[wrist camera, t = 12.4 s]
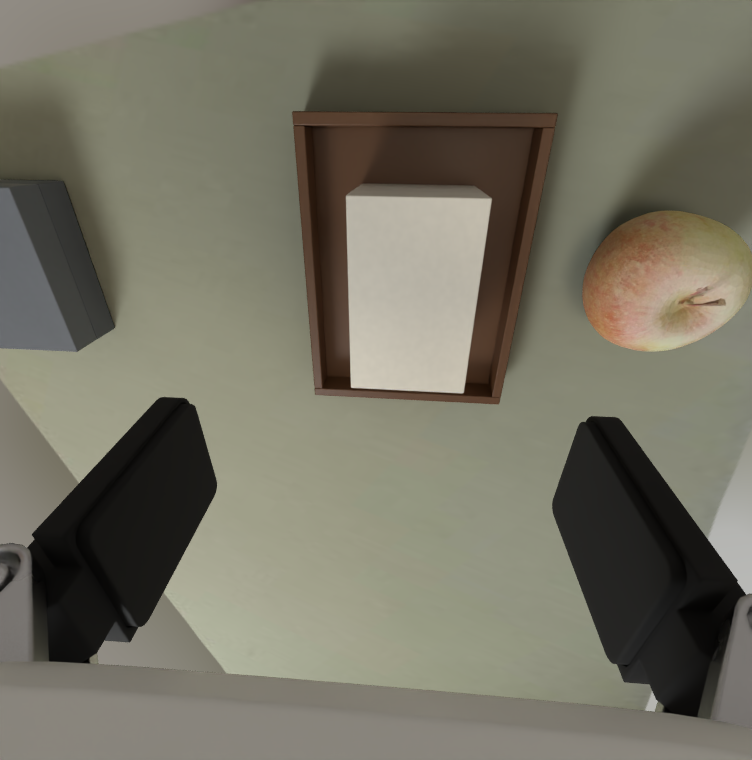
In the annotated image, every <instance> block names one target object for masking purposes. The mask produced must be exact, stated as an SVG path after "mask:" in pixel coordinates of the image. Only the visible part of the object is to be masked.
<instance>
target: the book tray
mask: <svg viewBox="0 0 752 760" xmlns="http://www.w3.org/2000/svg"><path fill="white" fill-rule="evenodd" d="M292 115H293V124H294V139H295V152H296V164H297V176H298V189H299V201H300V213H301V226H302V238H303V250H304V263H305V275H306V287H307V300H308V312H309V324H310V337H311V349H312V361H313V374H314V386H315V395H328V396H348V397H367V398H387V399H406V400H425V401H445V402H464V403H483V404H499V402H500V397H501V393H502V388H503V383H504V378H505V373H506V368H507V363H508V358H509V353H510V348H511V343H512V338H513V334H514V329H515V324H516V319H517V314H518V309H519V304H520V299H521V294H522V289H523V284H524V279H525V274H526V269H527V264H528V259H529V255H530V250H531V245H532V240H533V235H534V230H535V225H536V220H537V215H538V210H539V205H540V200H541V195H542V190H543V185H544V180H545V176H546V171H547V166H548V161H549V156H550V151H551V146H552V141H553V136H554V131H555V128H554V127H555V126H556V121H557V116H558V114H557V113H457V112H320V111H293V112H292ZM361 184H415V185H469V186H476V187H477V188H478V189H480V190H481V191H483V192H484V193H485V194H487V195H488V196H489V197H491V198H492V202H491V209H490V216H489V223H488V230H487V237H486V244H485V251H484V257H483V264H482V271H481V278H480V285H479V292H478V299H477V306H476V313H475V319H474V326H473V333H472V340H471V347H470V354H469V361H468V368H467V375H466V381H465V388H464V393H445V392H425V391H405V390H386V389H366V388H351V373H350V335H349V298H348V260H347V222H346V195H347V194H348V193H350V192H351V191H353V190H354V189H355V188H356V187H359V186H360V185H361Z"/></svg>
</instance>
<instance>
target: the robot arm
mask: <svg viewBox="0 0 752 760" xmlns="http://www.w3.org/2000/svg"><path fill="white" fill-rule="evenodd" d="M216 489H217V481H216V477H215V473H214V470H213V466H212V463H211V459H210V456H209V453H208V449H207V446H206V442H205V439H204V435H203V432H202V428H201V425H200V421H199V418H198V414H197V411H196V408H195V406H194V405H192V404H189V401H188V400H187V399H185V398H171V397H161V398H159V399H158V400H156V401H155V403H154V404H153V405H152V406H151V407H150V408H149V409H148V410H147V411H146V412H145V413H144V414H143V415H142V417H141V418H140V419H139V420H138V421H137V422H136V423H135V424H134V425H133V426H132V427H131V428H130V429H129V430H128V432H127V433H126V434H125V435H124V436H123V437H122V438H121V439H120V440H119V441H118V442H117V443H116V444H115V446H114V447H113V448H112V449H111V450H110V451H109V452H108V453H107V454H106V455H105V456H104V457H103V458H102V459H101V461H100V462H99V463H98V464H97V465H96V466H95V467H94V468H93V469H92V470H91V471H90V472H89V473H88V475H87V476H86V477H85V478H84V479H83V480H82V481H81V482H80V483H79V484H78V485H77V486H76V487H75V488H74V490H73V491H72V492H71V493H70V494H69V495H68V496H67V497H66V498H65V499H64V500H63V501H62V503H61V504H60V505H59V506H58V507H57V508H56V509H55V510H54V511H53V512H52V513H51V514H50V515H49V516H48V518H47V519H46V520H45V521H44V522H43V523H42V524H41V525H40V526H39V527H38V528H37V530H35V531H34V533H33V534H32V536H33V537H34V539H35V540H34V541H33V542H32V543H31V544H30V545H29V546H28V547H27V548H26V547H25V546H23V545H20V544H14V543H9V544H1V545H0V760H752V594H748V595H746V594H745V592H744V591H743V590H742V588H741V587H740V585H739V584H738V583H737V581H738V580H737V579H736V578H735V576H734V575H733V574H732V572H731V571H730V569H729V568H728V567H727V565H726V564H725V563H724V561H723V560H722V558H721V557H720V556H719V554H718V553H717V552H716V550H715V549H714V548H713V546H712V545H711V543H710V542H709V541H708V539H707V538H706V536H705V535H704V534H703V532H702V531H701V530H700V528H699V527H698V526H697V524H696V523H695V521H694V520H693V519H692V517H691V516H690V515H689V513H688V512H687V510H686V509H685V508H684V506H683V505H682V504H681V502H680V501H679V499H678V498H677V497H676V495H675V494H674V493H673V491H672V490H671V488H670V487H669V486H668V484H667V483H666V482H665V480H664V479H663V477H662V476H661V475H660V473H659V472H658V471H657V469H656V468H655V466H654V465H653V464H652V462H651V461H650V460H649V458H648V457H647V455H646V454H645V453H644V451H643V450H642V449H641V447H640V446H639V445H638V443H637V442H636V440H635V439H634V438H633V436H632V435H631V434H630V432H629V431H628V429H627V428H626V427H625V425H624V424H623V423H622V421H621V420H620V419H619V418H616V417H597V416H591V417H589V418H588V419H587V421H586V422H581V423H580V424H579V426H578V429H577V431H576V434H575V437H574V440H573V443H572V446H571V449H570V452H569V455H568V458H567V461H566V463H565V466H564V469H563V472H562V475H561V478H560V481H559V484H558V487H557V490H556V493H555V495H554V498H553V503H552V509H553V514H554V517H555V520H556V523H557V525H558V528H559V531H560V533H561V536H562V539H563V541H564V544H565V547H566V549H567V552H568V555H569V557H570V560H571V563H572V565H573V568H574V571H575V573H576V576H577V579H578V581H579V584H580V587H581V589H582V592H583V595H584V597H585V600H586V603H587V605H588V608H589V611H590V613H591V616H592V619H593V621H594V624H595V627H596V629H597V632H598V635H599V637H600V640H601V643H602V645H603V648H604V651H605V653H606V655H607V657H608V659H609V660H610V662H612V663H613V664H617V665H618V668H619V671H620V673H621V676H622V678H623V681H624V682H628V683H640V684H650V686H651V689H652V691H653V693H654V695H655V698H656V700H657V701H658V703H657V706H656V709H655V712H652V711H643V710H633V709H624V708H615V707H606V706H596V705H587V704H578V703H567V702H555V701H544V700H533V699H522V698H510V697H499V696H488V695H477V694H465V693H454V692H443V691H431V690H420V689H408V688H396V687H384V686H372V685H360V684H348V683H336V682H324V681H312V680H300V679H288V678H276V677H264V676H251V675H238V674H226V673H213V672H200V671H187V670H173V669H161V668H149V667H135V666H119V665H102V664H98V656H97V652H98V650H99V648H100V647H101V645H102V643H103V642H104V640H105V641H118V642H130V641H131V640H132V638H133V636H134V634H135V632H136V630H137V629H138V627H141V626H143V625H145V623H146V622H147V621H148V620H149V618H150V616H151V614H152V613H153V611H154V609H155V607H156V605H157V603H158V601H159V599H160V597H161V596H162V594H163V592H164V590H165V588H166V586H167V584H168V582H169V580H170V579H171V577H172V575H173V573H174V571H175V569H176V567H177V565H178V564H179V562H180V560H181V558H182V556H183V554H184V552H185V550H186V548H187V547H188V545H189V543H190V541H191V539H192V537H193V535H194V533H195V531H196V530H197V528H198V526H199V524H200V522H201V520H202V518H203V516H204V515H205V513H206V511H207V509H208V507H209V505H210V503H211V501H212V499H213V498H214V495H215V493H216Z"/></svg>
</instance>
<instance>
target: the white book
mask: <svg viewBox="0 0 752 760" xmlns="http://www.w3.org/2000/svg"><path fill="white" fill-rule="evenodd" d="M491 202H492V198H491V197H489V196H488V195H487V194H485V193H453V192H402V191H351V192H350V193H348V194H347V195H346V222H347V260H348V298H349V335H350V373H351V388H366V389H386V390H405V391H425V392H445V393H464V388H465V381H466V375H467V368H468V361H469V354H470V347H471V340H472V333H473V326H474V319H475V313H476V306H477V299H478V292H479V285H480V278H481V271H482V264H483V257H484V251H485V244H486V237H487V230H488V223H489V216H490V209H491Z"/></svg>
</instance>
